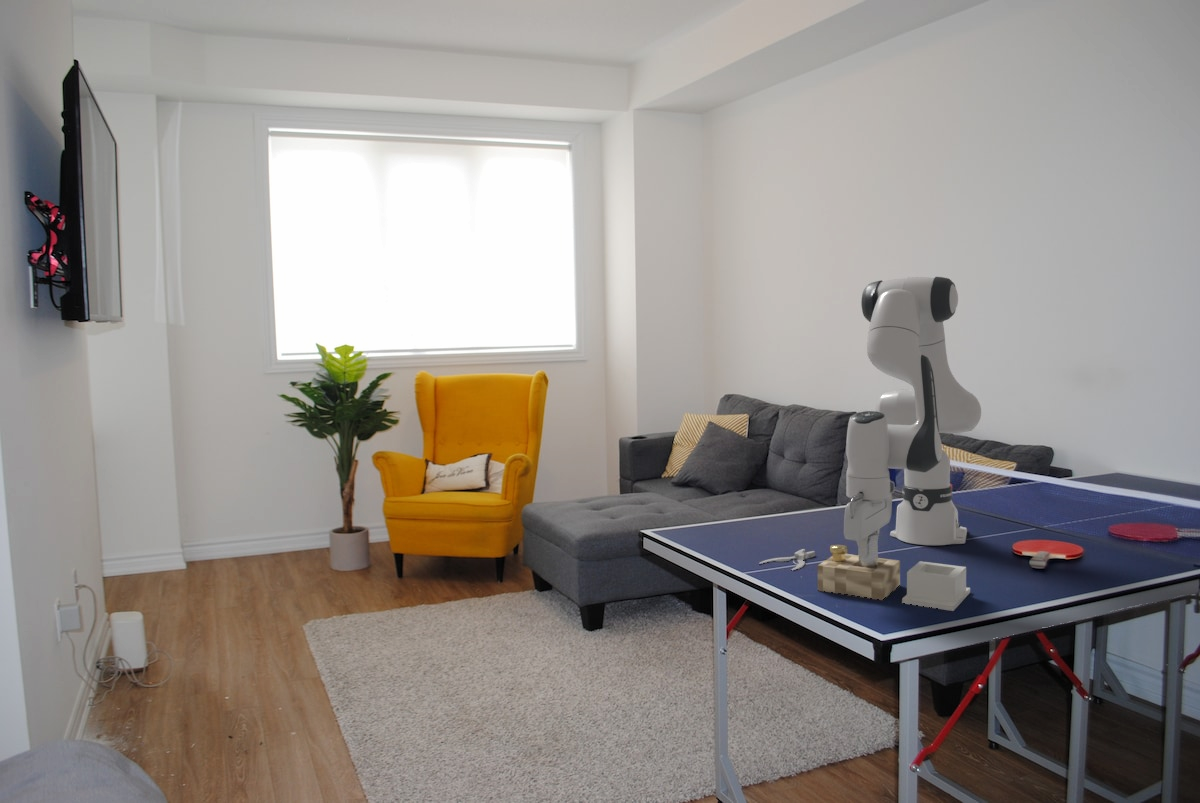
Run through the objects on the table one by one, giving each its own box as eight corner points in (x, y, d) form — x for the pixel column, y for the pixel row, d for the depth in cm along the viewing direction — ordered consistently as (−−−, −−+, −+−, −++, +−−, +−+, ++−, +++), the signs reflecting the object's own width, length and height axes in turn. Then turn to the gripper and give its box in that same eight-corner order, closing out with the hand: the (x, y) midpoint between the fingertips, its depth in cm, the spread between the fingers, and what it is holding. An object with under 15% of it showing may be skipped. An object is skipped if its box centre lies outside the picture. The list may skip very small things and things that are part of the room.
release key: (833, 580, 201) (833, 543, 200) (849, 582, 199) (849, 545, 198) (827, 584, 198) (827, 547, 197) (843, 586, 196) (843, 549, 195)
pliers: (757, 559, 217) (791, 546, 228) (757, 565, 217) (792, 552, 228) (793, 566, 210) (826, 553, 221) (793, 573, 210) (827, 559, 221)
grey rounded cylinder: (862, 585, 198) (861, 531, 197) (880, 588, 195) (880, 533, 194) (855, 590, 194) (855, 535, 193) (874, 593, 192) (874, 537, 191)
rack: (921, 585, 196) (921, 558, 196) (970, 592, 191) (970, 564, 190) (902, 603, 185) (902, 574, 184) (953, 611, 179) (953, 581, 179)
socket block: (837, 576, 205) (837, 552, 204) (900, 585, 197) (900, 560, 196) (817, 590, 195) (817, 565, 195) (882, 600, 187) (882, 574, 187)
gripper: (866, 498, 183) (866, 565, 184) (897, 481, 199) (897, 543, 201) (835, 495, 186) (836, 561, 188) (868, 479, 203) (869, 540, 204)
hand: (868, 552), depth 194 cm, fingers closed on grey rounded cylinder, 4 cm apart
